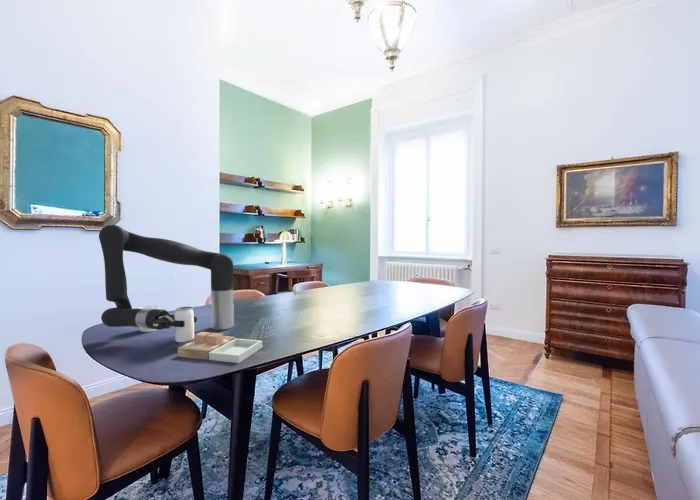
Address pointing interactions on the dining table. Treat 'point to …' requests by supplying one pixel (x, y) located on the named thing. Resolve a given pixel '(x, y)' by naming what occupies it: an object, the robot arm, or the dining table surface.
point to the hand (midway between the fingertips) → (190, 321)
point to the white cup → (148, 308)
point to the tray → (235, 350)
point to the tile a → (201, 337)
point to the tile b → (215, 338)
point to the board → (200, 349)
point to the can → (188, 330)
